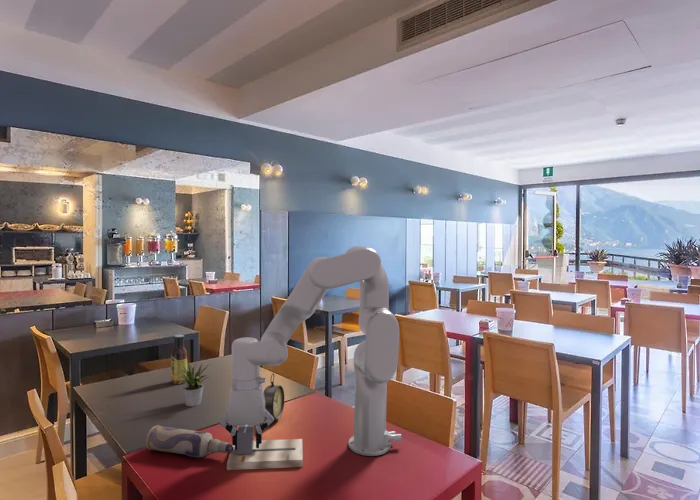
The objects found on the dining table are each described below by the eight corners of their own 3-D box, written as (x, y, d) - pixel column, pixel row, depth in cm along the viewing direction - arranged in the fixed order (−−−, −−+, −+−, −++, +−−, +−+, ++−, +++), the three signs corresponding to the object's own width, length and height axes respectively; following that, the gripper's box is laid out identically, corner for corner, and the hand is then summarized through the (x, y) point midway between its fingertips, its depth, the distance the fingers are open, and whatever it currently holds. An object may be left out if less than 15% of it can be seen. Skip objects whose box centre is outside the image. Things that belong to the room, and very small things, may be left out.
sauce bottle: (171, 380, 185) (171, 333, 184) (187, 379, 187) (187, 333, 186) (170, 385, 179) (170, 337, 178) (186, 384, 180) (186, 336, 180)
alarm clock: (273, 428, 141) (274, 379, 140) (257, 427, 142) (258, 377, 141) (285, 415, 151) (285, 369, 151) (270, 413, 153) (271, 367, 152)
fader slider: (253, 444, 125) (253, 424, 125) (251, 453, 120) (252, 431, 120) (239, 445, 124) (239, 424, 124) (236, 454, 119) (237, 432, 119)
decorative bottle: (142, 454, 123) (142, 431, 123) (160, 442, 130) (160, 420, 130) (225, 467, 117) (225, 442, 117) (239, 453, 124) (239, 430, 124)
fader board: (302, 445, 130) (302, 438, 130) (302, 466, 118) (302, 459, 118) (233, 448, 128) (233, 441, 128) (226, 470, 116) (226, 462, 116)
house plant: (160, 408, 155) (160, 363, 154) (183, 395, 168) (183, 353, 168) (195, 413, 152) (195, 367, 151) (216, 399, 165) (217, 356, 164)
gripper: (277, 377, 126) (278, 438, 127) (217, 379, 124) (218, 442, 125) (276, 386, 119) (277, 451, 119) (212, 389, 117) (213, 455, 117)
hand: (247, 446), depth 122 cm, fingers open, 5 cm apart
